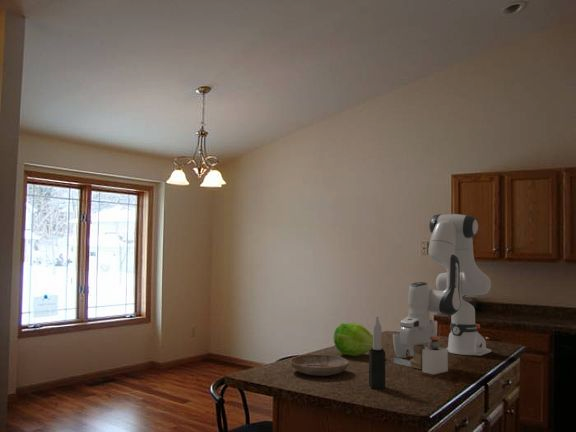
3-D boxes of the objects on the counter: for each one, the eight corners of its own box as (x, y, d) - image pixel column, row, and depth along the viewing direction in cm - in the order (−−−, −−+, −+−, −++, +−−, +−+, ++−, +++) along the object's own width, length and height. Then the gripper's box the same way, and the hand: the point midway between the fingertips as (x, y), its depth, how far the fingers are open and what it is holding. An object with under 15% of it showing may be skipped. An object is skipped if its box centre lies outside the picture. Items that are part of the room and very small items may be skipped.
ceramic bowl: (280, 368, 212) (280, 356, 212) (331, 364, 221) (331, 352, 221) (304, 382, 190) (305, 368, 191) (359, 377, 200) (359, 363, 200)
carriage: (417, 365, 220) (417, 343, 220) (427, 367, 216) (427, 345, 216) (410, 366, 217) (410, 344, 217) (420, 368, 213) (420, 346, 213)
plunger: (433, 350, 213) (433, 336, 214) (442, 352, 210) (442, 337, 210) (427, 351, 211) (427, 337, 211) (436, 353, 208) (436, 338, 208)
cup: (410, 358, 235) (410, 336, 236) (392, 357, 237) (392, 335, 237) (410, 355, 243) (410, 333, 244) (392, 354, 245) (392, 333, 245)
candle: (368, 385, 186) (368, 315, 188) (382, 385, 187) (382, 315, 189) (371, 389, 181) (372, 317, 183) (386, 389, 182) (386, 317, 184)
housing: (437, 368, 215) (437, 347, 215) (447, 371, 211) (447, 348, 212) (422, 372, 209) (422, 349, 209) (432, 374, 205) (432, 351, 205)
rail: (396, 362, 227) (396, 357, 227) (431, 370, 212) (431, 365, 212) (393, 362, 226) (393, 358, 226) (428, 370, 211) (428, 365, 211)
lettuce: (367, 365, 229) (369, 332, 228) (326, 356, 239) (327, 324, 238) (379, 355, 244) (381, 324, 243) (340, 346, 254) (342, 316, 252)
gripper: (427, 318, 226) (428, 350, 225) (397, 321, 214) (397, 355, 213) (440, 320, 221) (440, 352, 220) (409, 323, 209) (409, 358, 208)
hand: (419, 354), depth 216 cm, fingers open, 7 cm apart
